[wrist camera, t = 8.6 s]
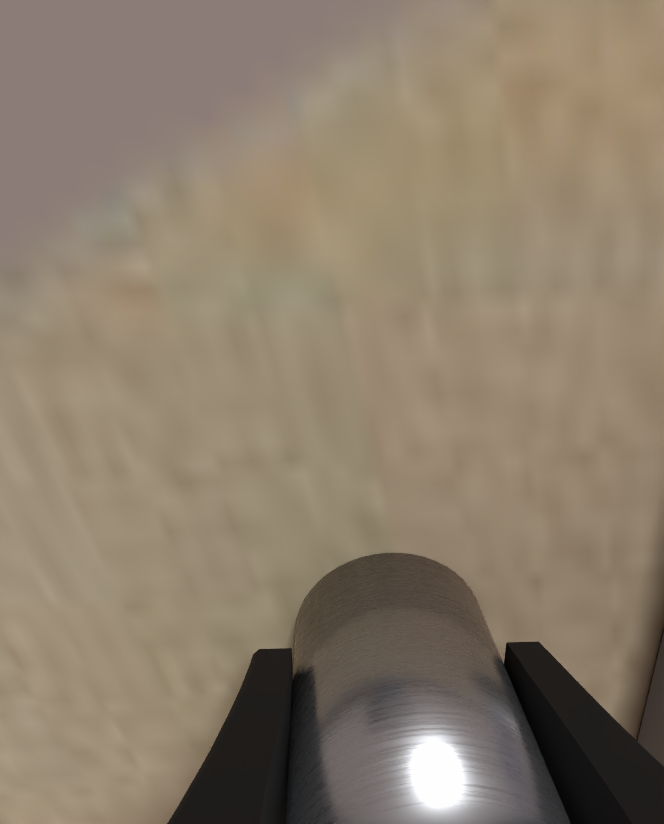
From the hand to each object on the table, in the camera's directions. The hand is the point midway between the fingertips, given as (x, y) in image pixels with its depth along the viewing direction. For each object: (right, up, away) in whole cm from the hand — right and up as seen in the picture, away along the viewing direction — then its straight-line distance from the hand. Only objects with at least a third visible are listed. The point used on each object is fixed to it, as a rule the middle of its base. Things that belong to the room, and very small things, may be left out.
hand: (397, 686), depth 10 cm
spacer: (0, 0, +1) cm, 1 cm away
